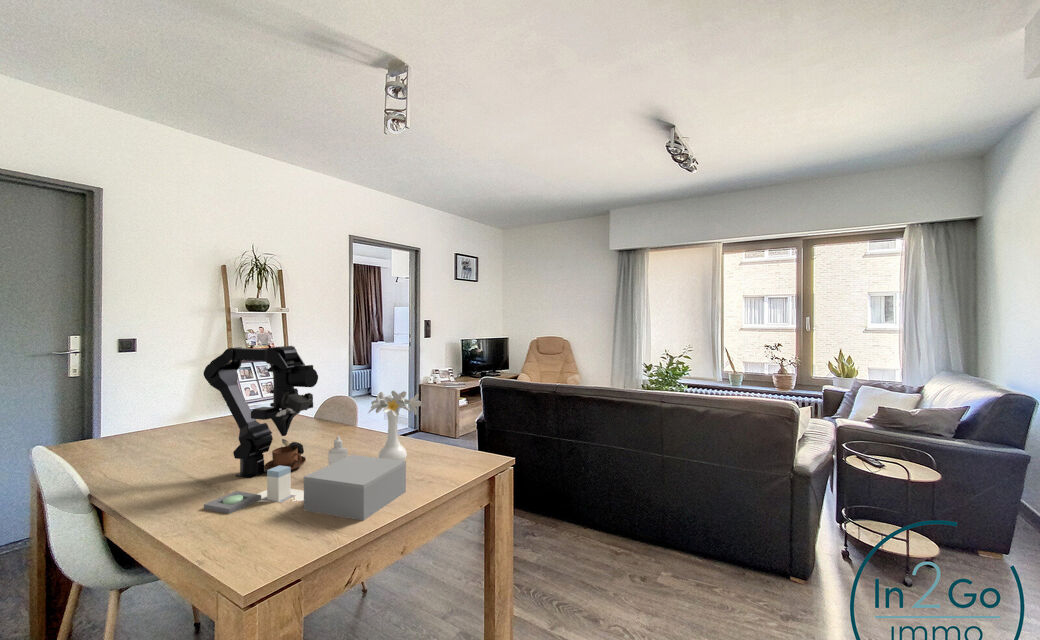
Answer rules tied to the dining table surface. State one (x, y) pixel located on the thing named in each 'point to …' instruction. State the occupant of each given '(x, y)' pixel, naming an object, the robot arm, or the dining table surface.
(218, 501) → the button housing
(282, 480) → the white blue upright block
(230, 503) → the button
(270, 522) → the dining table surface
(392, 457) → the flower vase
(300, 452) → the eagle figurine
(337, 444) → the eye dropper bottle
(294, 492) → the paper sheet
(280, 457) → the cup and saucer
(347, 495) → the grey rectangular slab
